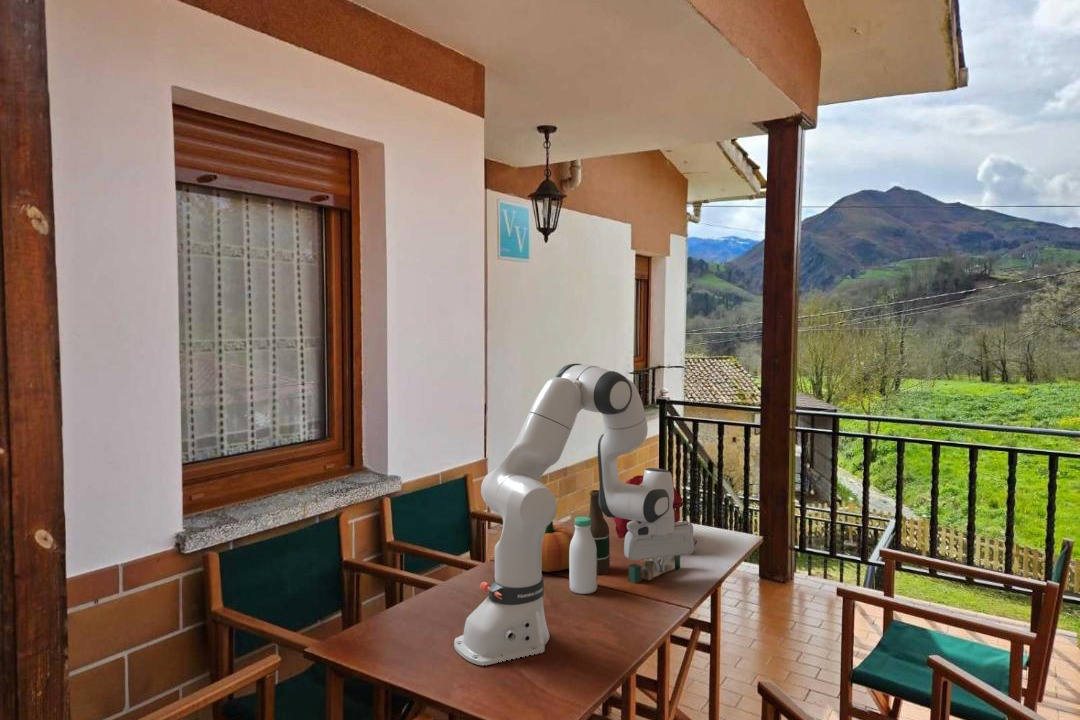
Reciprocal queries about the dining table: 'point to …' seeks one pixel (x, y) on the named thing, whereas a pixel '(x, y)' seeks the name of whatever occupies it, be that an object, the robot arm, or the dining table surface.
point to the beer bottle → (599, 533)
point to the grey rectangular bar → (650, 567)
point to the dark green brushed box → (635, 572)
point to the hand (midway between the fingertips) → (659, 571)
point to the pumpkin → (556, 548)
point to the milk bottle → (583, 558)
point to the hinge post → (677, 562)
